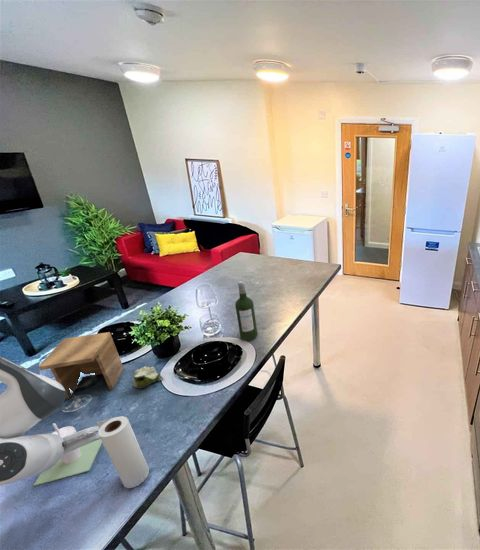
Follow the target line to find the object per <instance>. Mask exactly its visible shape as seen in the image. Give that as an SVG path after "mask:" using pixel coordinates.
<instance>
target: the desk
mask: <svg viewBox="0 0 480 550" xmlns="http://www.w3.org/2000/svg"><path fill="white" fill-rule="evenodd" d="M37 368H38V370H39V371H44V370H50V371H51V373H52V375H53V377H54V380H55V381H57V382H59V383H60V384H61V385H62V386H63V387H64V389H65V390H66V396H65V400H68V399H70V398H71V397H72V395H71V393H70V390H69V388H70V389H71V390H72V391H73V393H74V392H75V391H76V389H77V388H78V386H79V384H81V382H82V380H81V381H80V382H79V384H78V385H77V383H78V379H79V377H80V372H82V373H84V374H90V373H95V375H93V376H92V375H90V376H86V377H85V378H89V377H94V376H100V375H103V378H104V380H105V382H106V385H107V387H108V389H109V391H112V390H114V389H115V387H116V384H117V383H118V381H119V379H120V377H121V375H122V373H123V371H124V369H125V368H124V365H123V363H122V360H121V357H120V355H119V352H118V350H117V347H116V345H115V341H114V340H113V337H112V334H111V332H110V331H108V332H100V333H94V334H85V335H79V336H73V337H65V338H63V339H62V340H61V341H60V342H59V343H58V345H56V346H55V347H54V349H53V350H52V351H51V352H50V353H49V354H48V355H47V356H46V358H45V359H43V361H42V362H41V363H40V364H39V365H38V366H37Z"/></svg>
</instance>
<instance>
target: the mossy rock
mask: <svg viewBox="0 0 480 550" xmlns="http://www.w3.org/2000/svg"><path fill="white" fill-rule="evenodd" d="M162 380H164V377H162V376H161V375H160V374H159V372H157V370H156V368H155V366H151V367H149V366H142V367H140V368H139V369H136V370H134V371H133V381H132V383H133V387H134V388H137V389H143V388H147V387H148V386H150V385H152V384H153V383H155V382H159V381H162Z"/></svg>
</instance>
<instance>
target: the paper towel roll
mask: <svg viewBox="0 0 480 550" xmlns="http://www.w3.org/2000/svg"><path fill="white" fill-rule="evenodd" d="M96 425H97V426H99V428H100V429H99V430H98V435H99V437H100V439H101V441H102V445H103V447H104V449H105V451H106V453H107V455H108V457H109V459H110V461H111V463H112V465H113V468H114V470H115V471H116V473H117V475H118V477H119V480H120V481H121V483H122V486H123V487H124V488H127V489H132V488H136V487H138V486H140V485H141V484H142V483H144V482H145V480H146V479H147V478H148V476H149V475H150V468H149V465H148V463H147V459H146V458H145V456H144V454H143V451H142V449H141V446H140V444H139V442H138V439H137V437H136V435H135V432H134V430H133V428H132V425H131V423H130V420H129V418H128V417H127V416H123V415H121V416H114V417H110V418H107V419H105V420H101V421H97V422H96Z"/></svg>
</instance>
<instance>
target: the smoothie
mask: <svg viewBox="0 0 480 550" xmlns="http://www.w3.org/2000/svg"><path fill="white" fill-rule="evenodd" d="M52 427H53V428H54V431H53V432H51V434H56V435H58V436H60V437H61V438H63V437H65V436H68V435H70V434H73V433H76V432H77V429H76V428H75V426H71V425H68V426H64V427H63V426H62V427H60V428H59V427H58V425H57V424H56V423H55V422H53V423H52ZM80 455H81V453H80V449H79V448H77V449H75V450H73V451H70V452H68V453H65V454H63V456H62V457H61V459H60V460H61V461H62V462H63V463H65V464H70V463H72V462H74V461H76V460H77V459H78V458H79V457H80Z"/></svg>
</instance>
